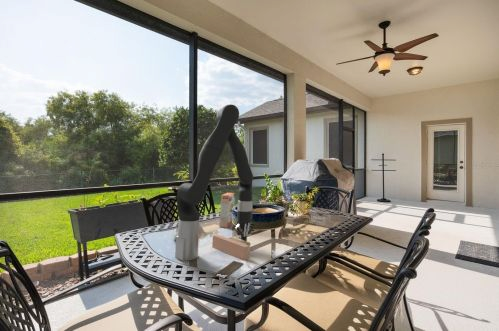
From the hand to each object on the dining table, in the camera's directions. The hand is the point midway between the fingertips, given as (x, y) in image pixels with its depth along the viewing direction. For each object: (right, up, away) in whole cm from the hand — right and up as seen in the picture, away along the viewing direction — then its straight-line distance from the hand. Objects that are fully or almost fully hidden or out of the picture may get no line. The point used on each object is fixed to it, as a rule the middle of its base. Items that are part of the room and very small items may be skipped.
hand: (243, 243), depth 139 cm
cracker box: (-12, -1, +44) cm, 45 cm away
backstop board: (-7, -3, -7) cm, 10 cm away
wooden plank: (-5, -4, -26) cm, 27 cm away
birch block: (-3, -3, -4) cm, 6 cm away
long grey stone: (-33, -1, +19) cm, 39 cm away
